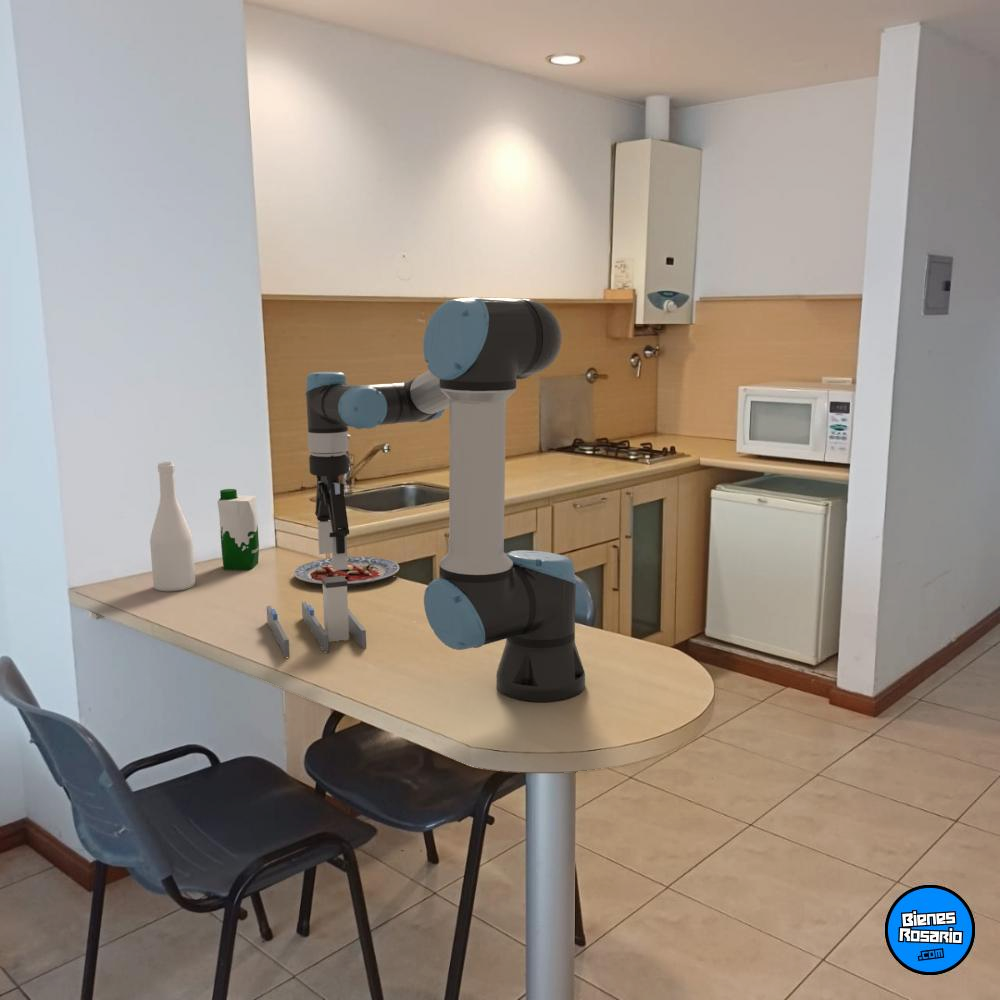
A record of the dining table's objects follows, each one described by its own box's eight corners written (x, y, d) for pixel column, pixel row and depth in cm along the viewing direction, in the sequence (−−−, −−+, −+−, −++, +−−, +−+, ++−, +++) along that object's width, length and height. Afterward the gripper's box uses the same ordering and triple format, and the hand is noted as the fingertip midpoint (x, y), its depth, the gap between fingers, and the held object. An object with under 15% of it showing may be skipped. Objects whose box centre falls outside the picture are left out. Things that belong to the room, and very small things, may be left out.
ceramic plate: (317, 598, 220) (317, 585, 220) (278, 574, 242) (277, 563, 241) (418, 581, 234) (417, 569, 234) (372, 560, 255) (371, 549, 255)
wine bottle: (151, 585, 232) (141, 461, 227) (192, 579, 236) (183, 458, 231) (156, 594, 224) (146, 466, 218) (199, 589, 228) (190, 463, 223)
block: (349, 639, 190) (347, 580, 188) (328, 642, 189) (325, 583, 187) (345, 633, 194) (342, 575, 192) (324, 636, 193) (321, 578, 190)
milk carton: (228, 562, 253) (224, 487, 250) (263, 562, 253) (258, 487, 250) (218, 570, 245) (213, 493, 241) (254, 570, 245) (249, 493, 241)
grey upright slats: (366, 647, 185) (365, 625, 185) (285, 658, 180) (284, 635, 179) (340, 613, 208) (339, 593, 207) (267, 622, 202) (266, 601, 201)
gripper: (363, 461, 175) (366, 574, 179) (335, 444, 198) (338, 545, 202) (321, 463, 172) (326, 578, 176) (298, 446, 195) (302, 548, 199)
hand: (332, 561), depth 189 cm, fingers open, 13 cm apart
